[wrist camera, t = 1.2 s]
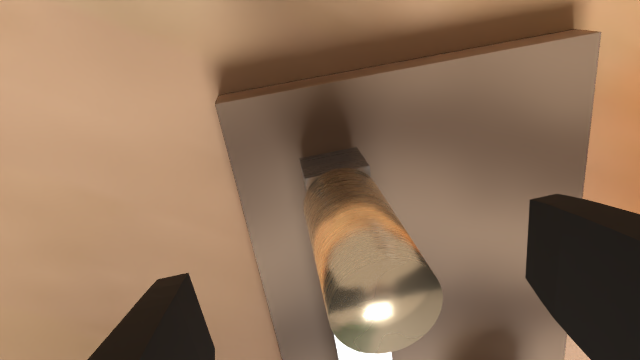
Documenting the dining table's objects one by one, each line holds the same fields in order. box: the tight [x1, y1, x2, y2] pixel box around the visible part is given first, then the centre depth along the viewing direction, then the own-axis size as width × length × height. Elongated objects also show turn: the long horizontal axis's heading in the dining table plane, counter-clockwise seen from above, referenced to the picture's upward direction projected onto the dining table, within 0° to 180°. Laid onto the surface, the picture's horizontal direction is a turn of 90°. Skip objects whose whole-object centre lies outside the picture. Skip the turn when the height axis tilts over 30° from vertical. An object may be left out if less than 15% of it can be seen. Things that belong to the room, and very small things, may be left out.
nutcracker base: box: [215, 29, 601, 360], centre depth 16 cm, size 20×12×4 cm, turn 9°
